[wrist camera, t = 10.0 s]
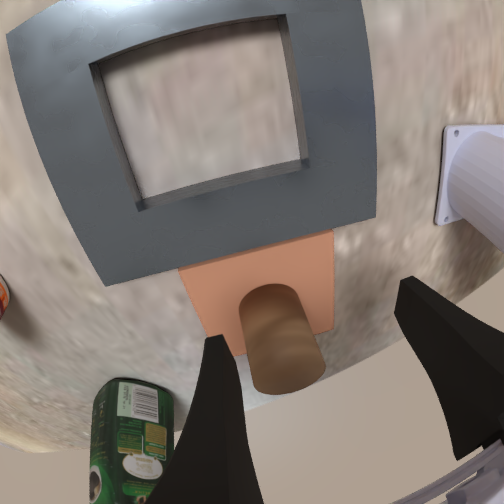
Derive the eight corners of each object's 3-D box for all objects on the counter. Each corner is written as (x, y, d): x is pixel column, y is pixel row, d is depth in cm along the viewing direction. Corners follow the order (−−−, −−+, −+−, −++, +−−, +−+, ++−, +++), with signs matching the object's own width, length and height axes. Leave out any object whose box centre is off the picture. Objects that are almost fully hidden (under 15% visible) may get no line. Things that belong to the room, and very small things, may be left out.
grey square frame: (335, -45, 9) (348, -52, 8) (364, 206, 19) (375, 217, 17) (19, 35, 8) (5, 34, 7) (109, 271, 18) (105, 286, 17)
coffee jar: (149, 420, 31) (160, 560, 16) (88, 403, 27) (85, 553, 12) (185, 389, 27) (208, 567, 12) (110, 366, 24) (108, 566, 9)
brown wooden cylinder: (295, 276, 20) (325, 346, 15) (300, 317, 23) (325, 382, 18) (232, 293, 20) (246, 368, 15) (245, 332, 23) (260, 400, 18)
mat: (330, 227, 19) (333, 231, 19) (331, 324, 25) (333, 329, 25) (178, 266, 19) (178, 271, 18) (218, 355, 25) (219, 359, 24)
